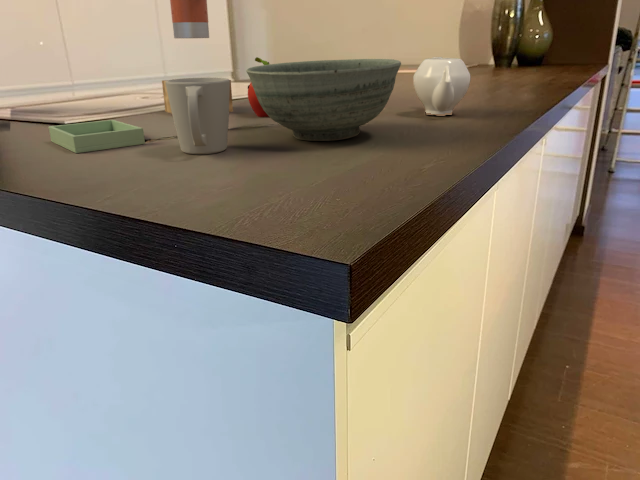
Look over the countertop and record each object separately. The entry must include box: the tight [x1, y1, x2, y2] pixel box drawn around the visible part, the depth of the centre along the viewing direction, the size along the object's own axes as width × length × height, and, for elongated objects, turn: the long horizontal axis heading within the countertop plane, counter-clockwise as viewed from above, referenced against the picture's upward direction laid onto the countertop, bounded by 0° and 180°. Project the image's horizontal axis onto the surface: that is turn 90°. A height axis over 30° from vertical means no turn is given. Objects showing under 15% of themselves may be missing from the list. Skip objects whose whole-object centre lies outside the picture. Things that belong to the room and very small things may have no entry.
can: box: [169, 0, 210, 39], centre depth 92 cm, size 6×6×11 cm
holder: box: [161, 79, 234, 114], centre depth 97 cm, size 9×9×6 cm
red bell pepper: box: [247, 56, 270, 118], centre depth 91 cm, size 8×7×10 cm
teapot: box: [412, 56, 472, 114], centre depth 92 cm, size 10×20×9 cm, turn 174°
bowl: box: [245, 58, 402, 142], centre depth 74 cm, size 21×21×10 cm
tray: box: [48, 119, 146, 154], centre depth 73 cm, size 11×9×2 cm
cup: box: [166, 76, 231, 155], centre depth 65 cm, size 8×10×8 cm
